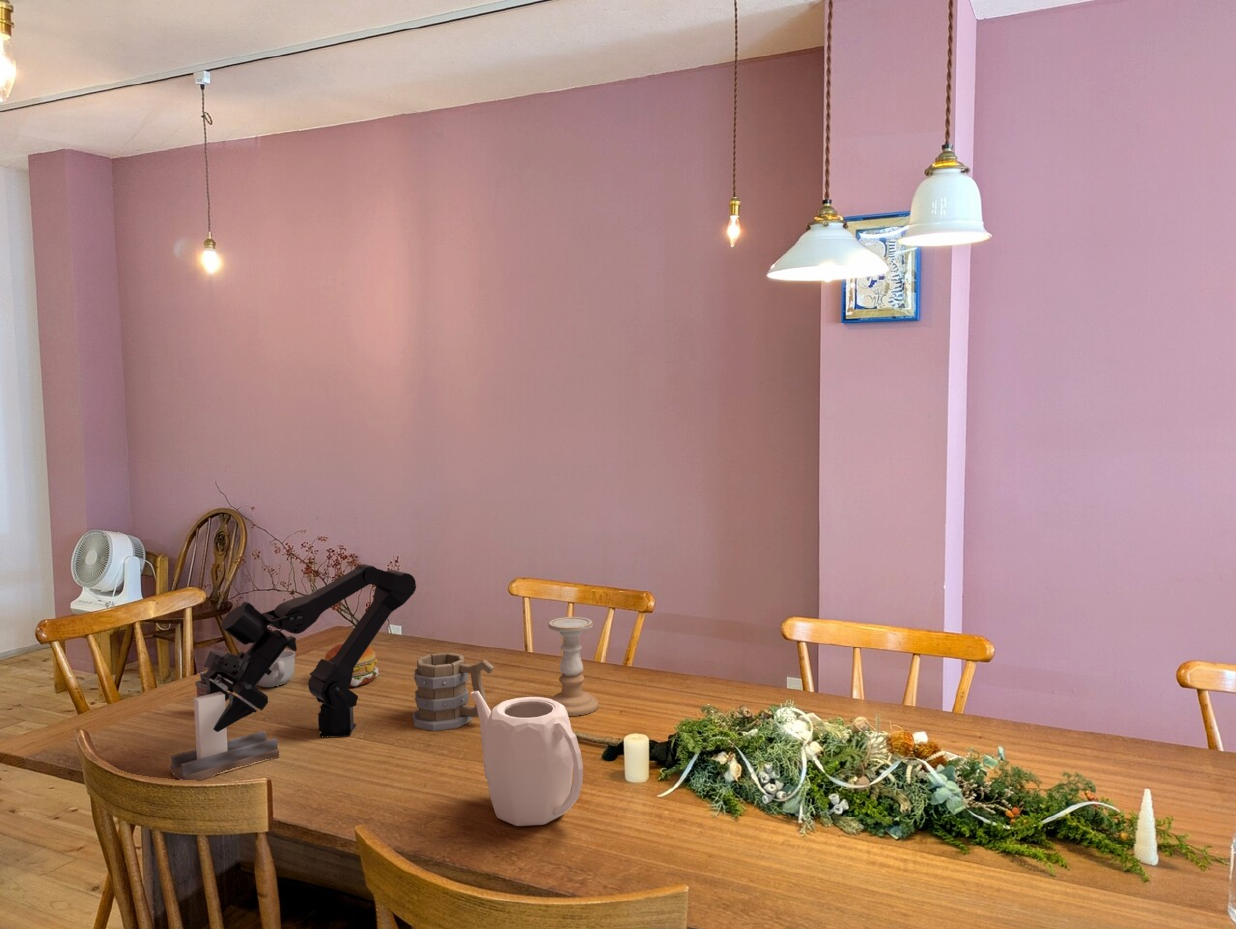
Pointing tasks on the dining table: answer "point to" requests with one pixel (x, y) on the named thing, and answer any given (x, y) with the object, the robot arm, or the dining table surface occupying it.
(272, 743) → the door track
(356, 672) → the burger
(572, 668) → the candle holder
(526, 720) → the watering can
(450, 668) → the tankard
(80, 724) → the dining table surface
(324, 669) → the robot arm
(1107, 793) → the dining table surface
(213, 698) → the door panel
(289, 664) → the teacup
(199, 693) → the lighter
